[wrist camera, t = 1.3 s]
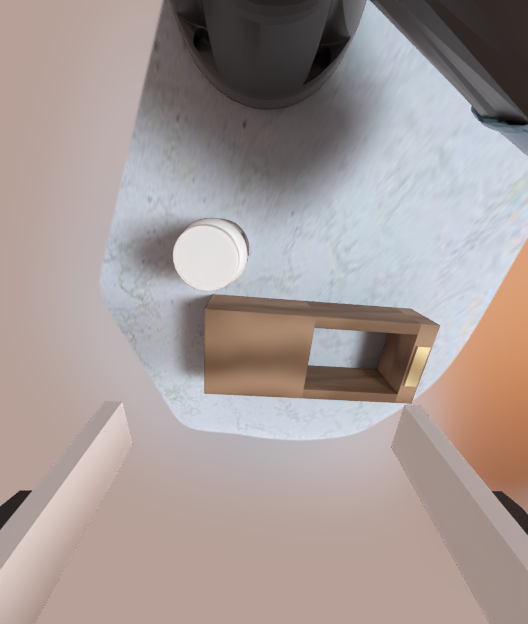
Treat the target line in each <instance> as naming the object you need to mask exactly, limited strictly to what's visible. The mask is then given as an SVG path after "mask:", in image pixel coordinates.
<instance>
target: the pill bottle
mask: <svg viewBox="0 0 528 624" xmlns="http://www.w3.org/2000/svg"><path fill="white" fill-rule="evenodd" d="M248 255H249V242H248V239H247V236H246V234H245V232H244V231H243V230H242V228H241V227H240V226H238V225H237V224H236V223H234V222H232V221H229V220H226V219H217V218H205V219H200V220H197V221H195V222H194V223H192V224H191V225H189V226H188V227H187V228H186V229H185V230H184V232H183V233H182V234H181V235H180V236H179V238H178V239H177V241H176V243H175V245H174V249H173V262H174V266H175V269H176V271H177V273H178V275H179V276H180V277H181V279H182V280H183V281H184V282H185V283H187V284H188V285H190V286H191V287H193V288H195V289H198V290H202V291H214V290H218V289H221V288H223V287H225V286H227V285H229V284H231V283H233V282H234V281H235V280H237V279H238V278H239V277H240V275H241V274H242V273H243V271H244V269H245V267H246V264H247V261H248Z"/></svg>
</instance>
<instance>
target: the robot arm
mask: <svg viewBox="0 0 528 624" xmlns="http://www.w3.org/2000/svg"><path fill="white" fill-rule="evenodd" d="M370 1H371V2H372V3H373V4H374V5H375V6H376V7H377V8H378V9H379V10H380V11H381V12H382V13H383V14H384V15H385V16H386V17H387V18H388V19H389V20H390V21H391V22H392V23H393V24H394V25H395V27H396V28H397V29H398V30H399V31H400V32H401V33H402V34H403V35H404V36H405V37H406V38H407V39H408V40H409V41H410V42H411V43H412V44H413V45H414V46H415V47H416V48H417V49H418V50H419V51H420V52H421V53H422V54H423V55H424V56H425V57H426V58H427V59H428V60H429V61H430V63H431V64H432V65H433V66H434V67H435V68H436V69H437V70H438V71H439V72H440V73H441V74H442V75H443V76H444V77H445V78H446V79H447V80H448V81H449V82H450V83H451V84H452V85H453V86H454V87H455V88H456V89H457V90H458V91H459V92H460V93H461V94H462V95H463V96H464V97H465V99H466V100H467V101H468V102H469V103H470V104H471V105H472V107H471V111H472V113H473V114H474V116H475V118H477V119H478V120H479V121H480V122H481V123H482V124H483V125H484V126H486V127H488V128H490V129H493V130H496V131H499V132H500V133H501V134H502V135H504V136H505V137H506V138H507V139H508V140H510V141H511V142H512V143H513V144H514V145H516V146H517V147H518V148H519V149H520V150H521V151H522V152H523V153H524V154H526V155H527V156H528V0H370ZM170 2H171V5H172V9H173V12H174V15H175V18H176V21H177V23H178V26H179V28H180V31H181V33H182V36H183V38H184V41H185V43H186V46H187V48H188V50H189V52H190V54H191V56H192V57H193V59H194V61H195V62H196V64H197V66H198V67H199V68H200V70H201V71H202V73H203V74H204V75H205V76H206V78H207V79H208V80H209V81H210V82H211V83H212V84H213V85H214V86H215V87H216V88H217V89H218V90H220V91H221V92H222V93H223V94H225V95H226V96H228V97H229V98H231V99H233V100H235V101H237V102H239V103H241V104H244V105H246V106H250V107H253V108H259V109H277V108H283V107H287V106H290V105H293V104H295V103H298V102H300V101H302V100H303V99H305V98H307V97H308V96H310V95H311V94H313V93H314V92H315V91H316V90H317V89H319V88H320V87H321V86H322V85H323V84H324V83H325V82H326V81H327V79H328V78H329V77H330V76H331V75H332V73H333V72H334V71H335V69H336V68H337V66H338V65H339V63H340V61H341V59H342V58H343V56H344V54H345V52H346V50H347V48H348V46H349V45H350V43H351V41H352V39H353V37H354V35H355V32H356V30H357V28H358V25H359V22H360V20H361V17H362V14H363V11H364V7H365V4H366V0H170ZM131 446H132V441H131V437H130V433H129V429H128V424H127V420H126V416H125V412H124V408H123V404H122V402H104V403H103V405H102V406H101V407H100V408H99V410H98V411H97V412H96V413H95V414H94V416H93V417H92V418H91V419H90V421H89V422H88V423H87V424H86V426H85V427H84V428H83V429H82V431H81V432H80V433H79V434H78V435H77V437H76V438H75V439H74V440H73V441H72V443H71V444H70V445H69V446H68V448H67V449H66V450H65V451H64V453H63V454H62V455H61V456H60V457H59V459H58V460H57V461H56V462H55V464H54V465H53V466H52V467H51V468H50V470H49V471H48V472H47V473H46V475H45V476H44V477H43V478H42V479H41V481H40V482H39V483H38V484H37V486H36V487H35V488H34V489H33V491H19V492H18V493H16V494H15V495H14V496H13V497H11V498H10V499H9V500H8V501H7V502H5V503H4V504H3V505H1V506H0V624H35V623H36V621H37V619H38V617H39V615H40V614H41V612H42V610H43V608H44V606H45V604H46V603H47V601H48V599H49V597H50V595H51V593H52V592H53V589H54V588H55V586H56V584H57V582H58V581H59V579H60V577H61V575H62V573H63V571H64V569H65V568H66V566H67V564H68V562H69V560H70V559H71V557H72V555H73V553H74V551H75V549H76V548H77V546H78V544H79V542H80V540H81V538H82V537H83V535H84V533H85V531H86V529H87V527H88V526H89V524H90V522H91V520H92V518H93V516H94V515H95V513H96V511H97V509H98V507H99V505H100V504H101V502H102V500H103V498H104V496H105V494H106V493H107V491H108V489H109V487H110V485H111V483H112V482H113V480H114V478H115V476H116V474H117V472H118V470H119V469H120V467H121V465H122V463H123V461H124V460H125V458H126V456H127V454H128V452H129V450H130V449H131ZM391 448H392V450H393V451H394V453H395V455H396V457H397V458H398V460H399V462H400V464H401V466H402V467H403V469H404V471H405V473H406V475H407V477H408V478H409V480H410V482H411V484H412V485H413V487H414V489H415V491H416V493H417V494H418V496H419V498H420V500H421V502H422V503H423V505H424V507H425V509H426V511H427V512H428V514H429V516H430V518H431V520H432V521H433V523H434V525H435V527H436V529H437V530H438V532H439V534H440V536H441V538H442V539H443V541H444V543H445V545H446V547H447V548H448V550H449V552H450V554H451V555H452V557H453V559H454V561H455V563H456V565H457V566H458V568H459V570H460V572H461V574H462V575H463V577H464V579H465V581H466V582H467V584H468V586H469V588H470V589H471V592H472V593H473V595H474V597H475V599H476V600H477V602H478V604H479V606H480V608H481V610H482V611H483V613H484V615H485V617H486V619H487V620H488V622H489V624H528V514H527V513H526V512H525V511H524V510H523V509H522V508H521V507H520V506H519V505H518V504H516V503H515V502H514V501H513V500H511V499H510V498H509V497H508V496H506V495H505V494H504V493H503V492H502V491H501V492H500V491H491V490H490V489H489V488H488V487H487V485H486V484H485V483H484V482H483V481H482V479H481V478H480V477H479V476H478V475H477V473H476V472H475V471H474V470H473V469H472V467H471V466H470V465H469V464H468V462H467V461H466V460H465V459H464V458H463V456H462V455H461V454H460V453H459V452H458V450H457V449H456V448H455V447H454V446H453V444H452V443H451V442H450V441H449V439H448V438H447V437H446V436H445V435H444V433H443V432H442V431H441V430H440V429H439V427H438V426H437V425H436V424H435V423H434V421H433V420H432V419H431V418H430V417H429V415H428V414H427V413H426V412H425V410H424V409H423V408H422V407H421V406H420V405H404V408H403V411H402V415H401V418H400V421H399V424H398V427H397V430H396V434H395V437H394V440H393V443H392V446H391Z"/></svg>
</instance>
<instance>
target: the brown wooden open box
mask: <svg viewBox="0 0 528 624" xmlns="http://www.w3.org/2000/svg"><path fill="white" fill-rule="evenodd" d="M439 327H440V325H438V324H437V323H435V322H433V321H431V320H430V319H428V318H426V317H424V316H423V315H421V314H419V313H417V312H416V311H414V310H412V309H405V308H391V307H378V306H364V305H351V304H337V303H323V302H310V301H296V300H283V299H269V298H255V297H242V296H228V295H215V294H213V295H212V297H211V299H210V300H209V302H208V304H207V306H206V307H205V341H204V394H225V395H246V396H266V397H287V398H308V399H328V400H349V401H370V402H391V403H412V400H413V398H414V395H415V392H416V390H417V387H418V384H419V381H420V379H421V376H422V373H423V371H424V368H425V365H426V362H427V360H428V357H429V354H430V352H431V349H432V346H433V343H434V341H435V338H436V335H437V333H438V330H439ZM314 328H325V329H340V330H355V331H370V332H385V333H388V335H387V338H386V342H385V345H384V349H383V352H382V356H381V359H380V363H379V366H378V369H360V368H343V367H325V366H308V361H309V355H310V349H311V344H312V338H313V332H314Z"/></svg>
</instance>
